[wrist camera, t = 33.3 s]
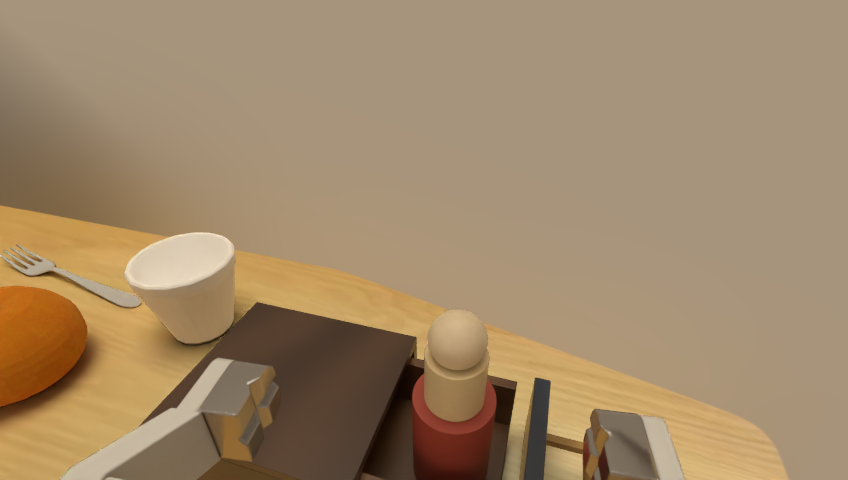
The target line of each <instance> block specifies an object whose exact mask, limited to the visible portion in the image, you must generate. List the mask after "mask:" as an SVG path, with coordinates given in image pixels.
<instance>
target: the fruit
mask: <svg viewBox="0 0 848 480" xmlns="http://www.w3.org/2000/svg"><path fill="white" fill-rule="evenodd" d="M87 333H88V332H87V325H86V323H85V320H84V318H83V316H82V315H81V313H80V311H79V310H78V308H77V307H76V305H75V304H73V303H72V302H71V301H70V300H68V299H66V298H65V297H63V296H61V295H58V294H56V293H54V292H52V291H49V290H45V289H40V288H34V287H24V286H9V287H1V288H0V406H5V405H8V404H11V403H15V402H18V401H21V400H24V399H26V398H28V397H30V396H32V395H34V394H37V393H39V392H41V391H43V390H45V389H46V388H48V387H49V386H51V385H52V384H54V383H55V382H57V381H58V380H59V379H61V378H62V377H63V376H64V375H65V374H66V373H67V372H68V371H69V370H71V369H72V368H73V367H74V365H75V364H76V362H77V361H78V359H79V358H80V356H81V354H82V353H83V351H84V350H85V345H86V339H87Z"/></svg>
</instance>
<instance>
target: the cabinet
mask: <svg viewBox="0 0 848 480" xmlns="http://www.w3.org/2000/svg"><path fill="white" fill-rule="evenodd" d="M416 344H417V338H416V337H413V336H408V335H404V334H399V333H395V332H390V331H386V330H381V329H377V328H372V327H367V326H363V325H358V324H354V323H349V322H345V321H340V320H336V319H331V318H326V317H322V316H317V315H313V314H308V313H304V312H299V311H295V310H290V309H285V308H281V307H276V306H272V305H267V304H263V303H258V302H257V303H256V304H255V305H254V306H253V307H252V308H251V309H250V310H249V311H248V312H247V313H246V314H245V315H244V316H243V317H242V318H241V319H240V321H239V322H238V323H237V324H236V325H235V326H234V327H233V328H232V329H231V330H230V331H229V332H228V333H227V334H226V335H225V336H224V337H223V338H222V339H221V341H220V342H219V343H218V344H217V345H216V346H215V347H214V348H213V349H212V350H211V351H210V352H209V353H208V354H207V355H206V356H205V357H204V358H203V359H202V360H201V362H200V363H199V364H198V365H197V366H196V367H195V368H194V369H193V370H192V371H191V372H190V373H189V374H188V375H187V376H186V377H185V378H184V379H183V380H182V382H181V383H180V384H179V385H178V386H177V387H176V388H175V389H174V390H173V391H172V392H171V393H170V394H169V395H168V396H167V397H166V398H165V399H164V400H163V402H162V403H161V404H160V405H159V406H158V407H157V408H156V409H155V410H154V411H153V412H152V413H151V414H150V415H149V416H148V417H147V418H146V419H145V420H144V421H143V423H142V424H141V425H143V424H145V423H146V422H148V421H150V420H151V419H153V418H155V417H156V416H158V415H160V414H162V413H163V412H165V411H167V410H168V409H170V408H177V407H178V406H179V404H180V403H181V402H182V400H183V399H184V398H185V396H186V395H187V394H188V392H189V391H190V390H191V388H192V387H193V386H194V384H195V383H196V382H197V380H198V379H199V378H200V376H201V375H202V374H203V372H204V371H205V370H206V368H207V367H208V366H209V364H210V363H211V362H212V361H213V360H215V359H217V358H223V359H230V360H237V361H243V362H249V363H255V364H261V365H267V366H273V367H274V371H275V374H276V376H275V378H274V379H273V381H274V382H275V383H276V384H277V385H278V386H279V389H280V404H279V408H278V412H277V414H276V416H275V418H274V420H273V422H272V423H271V424H270V425H268V426H267V427H265V428H264V429H263V433H264V440H263V442H262V444H261V446H260V448H259V450H258V451H257V453H256V455H255V457H254V459H253V461H252V462H250V461H243V460H235V459H228V458H221V459H220V461H218V462H217V463H216V464H215V465H214V466H213V467H211V468H210V469H209V470H208V471H207V472H205V473H204V474H203V475H202V476H201V477H200V478H198V479H197V480H358V479H359V477H360V474H361V472H362V470H363V467H364V465H365V463H366V460H367V458H368V456H369V453H370V451H371V449H372V446H373V444H374V442H375V440H376V437H377V435H378V433H379V430H380V428H381V426H382V423H383V421H384V419H385V416H386V414H387V412H388V409H389V407H390V405H391V402H392V400H393V398H394V395H395V393H396V391H397V388H398V386H399V384H400V381H401V379H402V377H403V374H404V372H405V370H406V367H407V365H408V363H409V360H410V358H411V357H412V358H416V359H417V345H416ZM141 425H140V426H141ZM140 426H139V427H140Z"/></svg>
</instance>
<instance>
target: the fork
mask: <svg viewBox="0 0 848 480" xmlns="http://www.w3.org/2000/svg"><path fill="white" fill-rule="evenodd" d="M16 246H18V247H19V248H21V249H22V250H23V251H25V252H27V253H29V254H30V255H32V256H34V257H36V258H38V259H40V260H42V261H43V262H38V261H36V260H33V259H31V258H30V257H28V256H26V255H24V254H23V253H21V252H19V251H17V250H16V249H14V248H12V247H10V248H11V249H12V250H13V251H14V252H16V253H17V254H19V255H20V256H22V257H24V258H25V259H27V260H28V261H30V262H32V263H34V264H35V265H30V264H27V263H25V262H24V261H22V260H21V259H19V258H17V257H16V256H14V255H13V254H11V253H9V252H7V251H6V250H4V252H5V253H7V254H8V255H9V256H10V257H12V258H13V259H15V260H16V261H18V262H19V263H21V264H22V265H24V266H25V267H27V269H23V268H21V267H19V266H18V265H16V264H15V263H13V262H12V261H11V260H9V259H8V258H6V257H5V256H3V255H1V254H0V257H1V258H3V259H4V260H5V261H6V262H8V263H9V264H11V265H12V266H13V267H15V268H16V269H18V270H19V271H20V272H22V273H24V274H26V275H39V274H42V273H45V272H48V271H54V272H57V273H59V274H62V275H63V276H65V277H67V278H69V279H71V280H73V281H74V282H76V283H78V284H80V285H81V286H83V287H85V288H86V289H88V290H90V291H92V292H94V293H96V294H97V295H99V296H101V297H103V298H105V299H107V300H109V301H111V302H113V303H115V304H117V305H119V306H122V307H130V308H133V307H137V306H138V305H140V304H141V301H140V299H139V298H138V297H136V296H135V295H132V294H129V293H127V292H124V291H121V290H118V289H114V288H111V287H109V286H106V285H103V284H100V283H97V282H94V281H91V280H88V279H85V278H83V277H80V276H77V275H75V274H72V273H70V272H68V271H65V270H63V269H60V268H57V267H55V263H54V262H52V261H50V260H48V259H45V258H43V257H40V256H39V255H37V254H35V253H33V252H31V251H29V250H27V249H25V248H23V247H21V246H20V245H18V244H17V245H16Z"/></svg>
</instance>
